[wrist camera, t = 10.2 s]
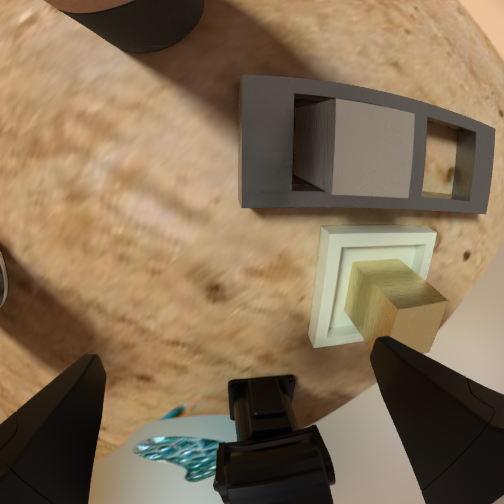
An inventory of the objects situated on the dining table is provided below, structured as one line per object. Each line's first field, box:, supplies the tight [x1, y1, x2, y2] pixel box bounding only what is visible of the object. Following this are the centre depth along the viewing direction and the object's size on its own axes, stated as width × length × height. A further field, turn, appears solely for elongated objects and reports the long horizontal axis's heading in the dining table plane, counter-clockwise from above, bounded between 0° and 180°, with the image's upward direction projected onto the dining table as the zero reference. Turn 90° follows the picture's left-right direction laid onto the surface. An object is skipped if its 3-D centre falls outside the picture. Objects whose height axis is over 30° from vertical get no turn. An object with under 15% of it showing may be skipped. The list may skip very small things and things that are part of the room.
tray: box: [308, 225, 437, 348], centre depth 23 cm, size 10×10×2 cm
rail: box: [238, 75, 495, 214], centre depth 18 cm, size 8×22×2 cm, turn 89°
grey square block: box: [294, 99, 415, 198], centre depth 16 cm, size 4×4×7 cm
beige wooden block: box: [344, 259, 449, 354], centre depth 20 cm, size 4×4×7 cm
